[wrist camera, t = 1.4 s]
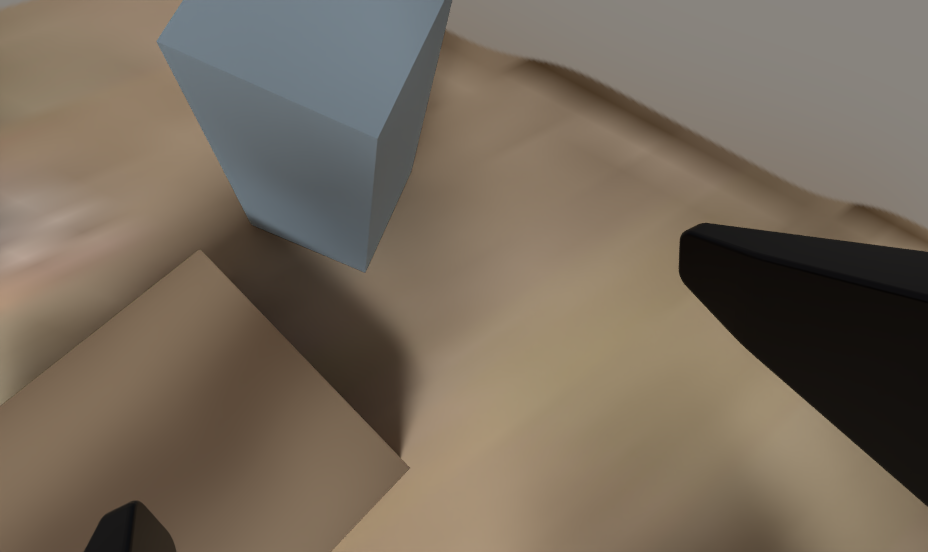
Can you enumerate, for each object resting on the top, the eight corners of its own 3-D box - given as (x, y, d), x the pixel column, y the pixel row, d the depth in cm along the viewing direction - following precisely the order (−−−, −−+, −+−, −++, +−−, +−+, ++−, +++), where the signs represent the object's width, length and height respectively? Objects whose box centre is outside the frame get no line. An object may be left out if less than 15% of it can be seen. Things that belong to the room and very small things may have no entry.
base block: (399, 459, 21) (410, 468, 17) (191, 676, 18) (148, 744, 15) (227, 279, 21) (199, 248, 18) (-2, 466, 19) (-93, 479, 15)
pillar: (411, 171, 23) (459, -32, 13) (365, 272, 22) (377, 138, 11) (304, 124, 23) (264, -125, 12) (251, 224, 22) (156, 41, 11)
